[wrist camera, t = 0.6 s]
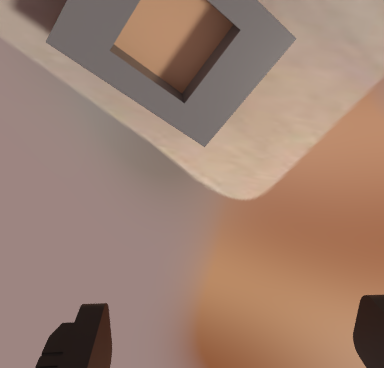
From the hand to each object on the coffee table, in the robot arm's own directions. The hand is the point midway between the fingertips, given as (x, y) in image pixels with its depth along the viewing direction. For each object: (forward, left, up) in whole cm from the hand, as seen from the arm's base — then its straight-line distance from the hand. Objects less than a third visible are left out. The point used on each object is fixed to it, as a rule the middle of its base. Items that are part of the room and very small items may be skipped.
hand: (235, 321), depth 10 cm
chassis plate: (-3, +3, -28) cm, 28 cm away
